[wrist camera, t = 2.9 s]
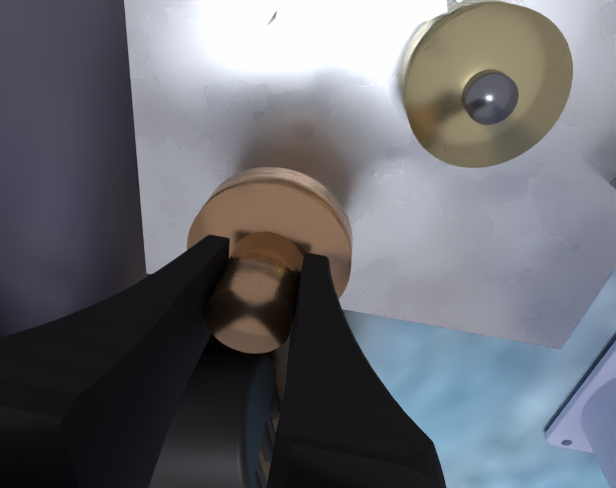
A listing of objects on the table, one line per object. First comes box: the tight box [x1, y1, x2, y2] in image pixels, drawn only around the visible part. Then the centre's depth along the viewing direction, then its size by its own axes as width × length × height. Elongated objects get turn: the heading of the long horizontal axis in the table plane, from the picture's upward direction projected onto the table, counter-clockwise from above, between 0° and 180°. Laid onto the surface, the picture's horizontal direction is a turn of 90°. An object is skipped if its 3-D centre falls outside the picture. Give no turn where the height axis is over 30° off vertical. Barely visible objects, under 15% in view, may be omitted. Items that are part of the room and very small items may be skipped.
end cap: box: [149, 353, 281, 488], centre depth 21 cm, size 10×7×7 cm
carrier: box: [124, 0, 616, 349], centre depth 12 cm, size 18×20×4 cm
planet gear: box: [187, 167, 353, 353], centre depth 13 cm, size 5×5×4 cm
